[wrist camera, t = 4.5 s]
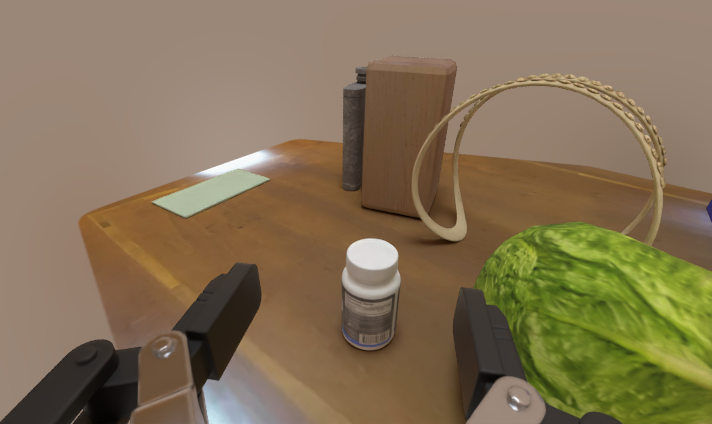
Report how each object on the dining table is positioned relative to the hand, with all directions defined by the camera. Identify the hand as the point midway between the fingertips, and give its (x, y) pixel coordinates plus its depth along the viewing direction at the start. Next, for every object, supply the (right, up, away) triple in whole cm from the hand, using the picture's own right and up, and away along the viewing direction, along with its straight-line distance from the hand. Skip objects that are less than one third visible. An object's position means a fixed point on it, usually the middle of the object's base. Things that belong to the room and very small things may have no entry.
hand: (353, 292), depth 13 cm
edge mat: (-22, +7, +40) cm, 46 cm away
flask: (+1, +10, +47) cm, 48 cm away
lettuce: (+19, -12, +10) cm, 24 cm away
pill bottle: (+1, -7, +17) cm, 18 cm away
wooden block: (+7, +5, +39) cm, 40 cm away
